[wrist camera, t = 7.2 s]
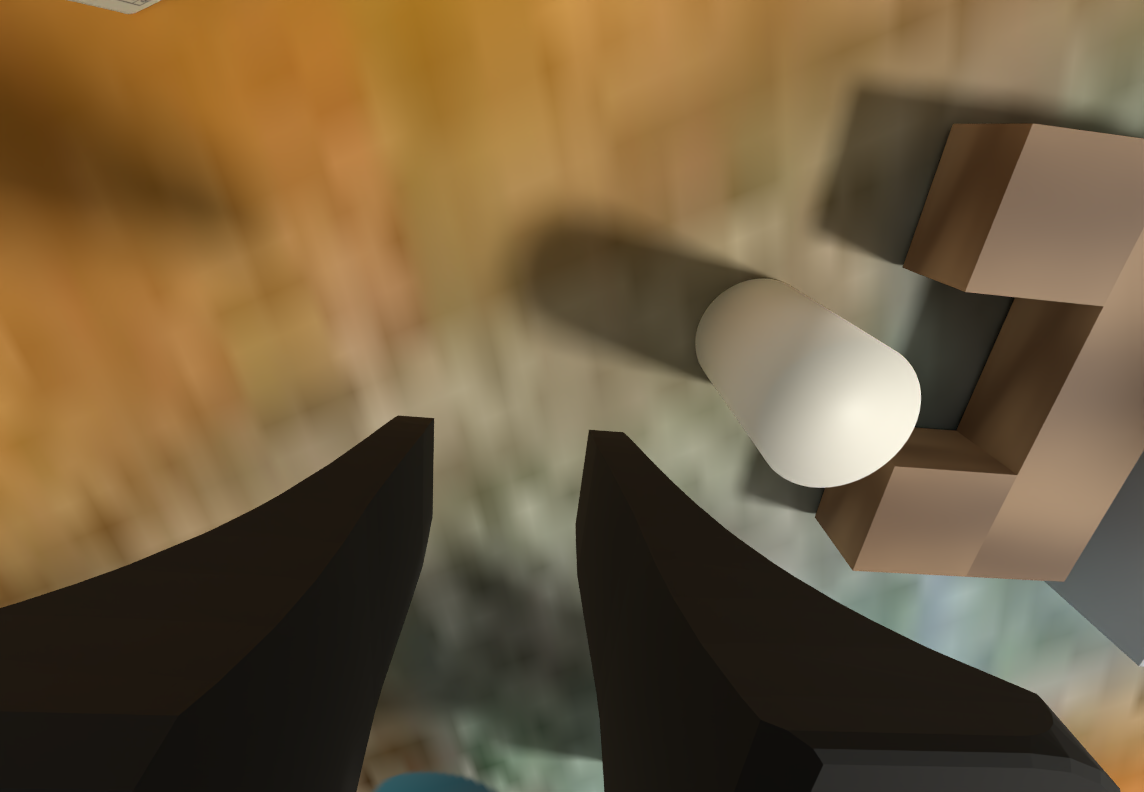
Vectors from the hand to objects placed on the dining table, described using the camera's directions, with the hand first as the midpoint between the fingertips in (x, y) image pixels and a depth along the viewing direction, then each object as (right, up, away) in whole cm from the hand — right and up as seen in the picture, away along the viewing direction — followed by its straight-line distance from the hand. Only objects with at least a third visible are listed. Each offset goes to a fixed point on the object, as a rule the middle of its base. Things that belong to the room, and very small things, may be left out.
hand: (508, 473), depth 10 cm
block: (+15, +3, +10) cm, 19 cm away
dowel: (+7, +3, +9) cm, 12 cm away
